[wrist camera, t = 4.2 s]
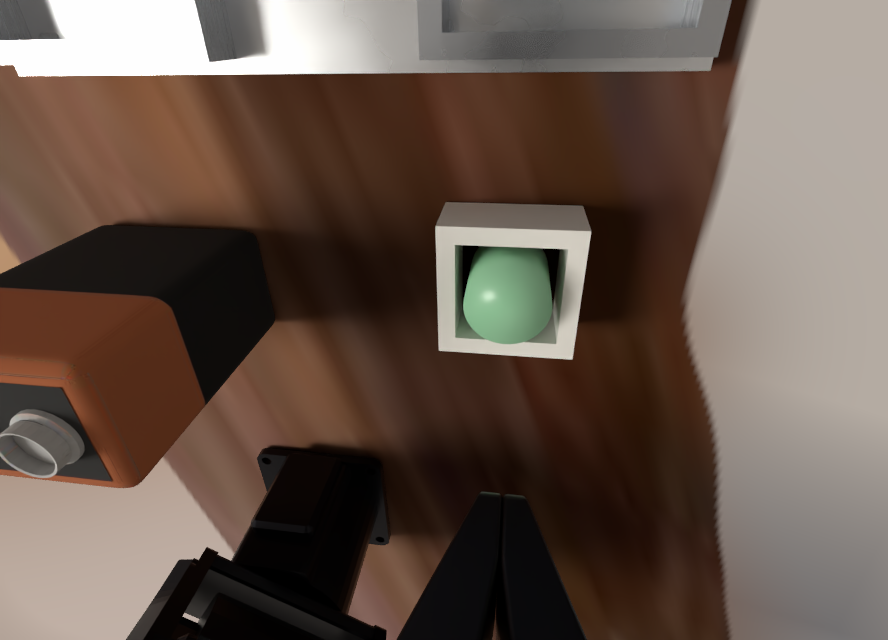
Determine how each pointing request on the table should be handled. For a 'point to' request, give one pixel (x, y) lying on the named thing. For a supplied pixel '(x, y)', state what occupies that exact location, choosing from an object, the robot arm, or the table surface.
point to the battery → (121, 347)
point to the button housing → (511, 229)
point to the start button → (508, 293)
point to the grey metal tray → (357, 36)
